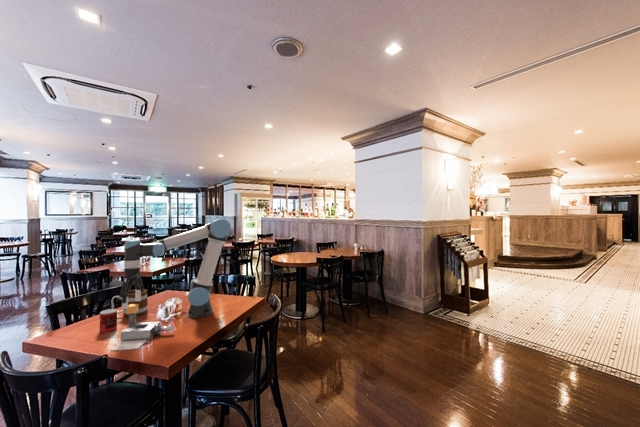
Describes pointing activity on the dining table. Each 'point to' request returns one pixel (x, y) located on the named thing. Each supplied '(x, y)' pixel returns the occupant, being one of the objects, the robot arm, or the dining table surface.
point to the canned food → (108, 320)
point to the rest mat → (129, 345)
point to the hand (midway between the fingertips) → (131, 304)
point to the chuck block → (143, 331)
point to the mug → (131, 299)
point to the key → (132, 312)
